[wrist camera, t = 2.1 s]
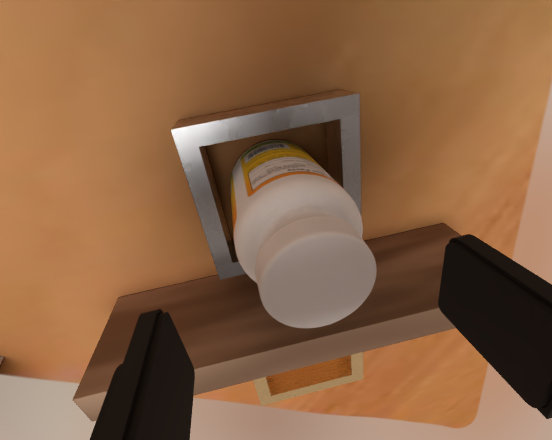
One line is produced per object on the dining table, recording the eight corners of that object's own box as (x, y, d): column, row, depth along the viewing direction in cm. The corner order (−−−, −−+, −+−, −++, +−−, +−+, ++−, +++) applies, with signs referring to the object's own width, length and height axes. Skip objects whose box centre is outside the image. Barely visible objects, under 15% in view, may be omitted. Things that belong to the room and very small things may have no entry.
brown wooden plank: (118, 297, 20) (72, 399, 14) (443, 222, 22) (530, 284, 15) (129, 317, 21) (92, 421, 15) (440, 244, 23) (521, 311, 16)
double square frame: (178, 120, 15) (170, 129, 13) (340, 89, 16) (359, 93, 14) (258, 377, 26) (261, 405, 24) (351, 353, 27) (363, 378, 25)
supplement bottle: (285, 232, 20) (333, 358, 11) (213, 197, 18) (206, 318, 9) (332, 166, 18) (431, 255, 10) (259, 119, 16) (300, 179, 8)
